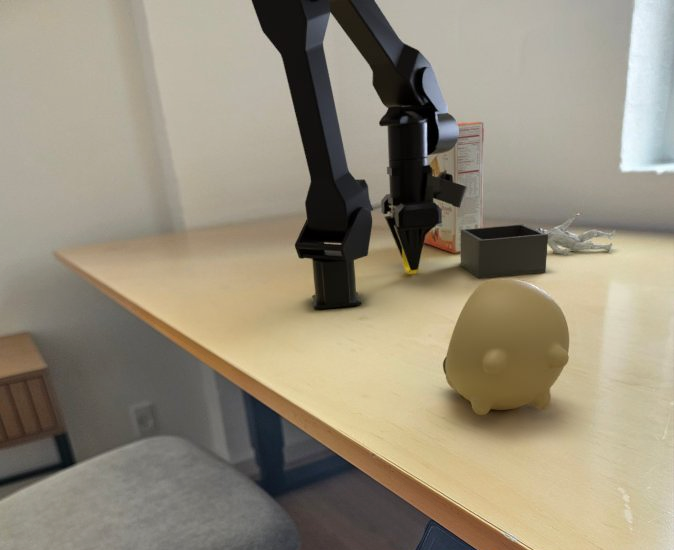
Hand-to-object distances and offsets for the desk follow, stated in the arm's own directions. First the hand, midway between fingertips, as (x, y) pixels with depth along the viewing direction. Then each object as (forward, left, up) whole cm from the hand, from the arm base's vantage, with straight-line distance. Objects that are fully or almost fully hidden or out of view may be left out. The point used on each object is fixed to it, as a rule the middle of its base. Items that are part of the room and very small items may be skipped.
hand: (410, 265), depth 104 cm
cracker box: (+20, -11, -2) cm, 23 cm away
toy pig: (-54, +2, -2) cm, 54 cm away
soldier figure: (+6, -29, -2) cm, 30 cm away
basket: (-2, -14, -1) cm, 14 cm away
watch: (0, 0, -1) cm, 1 cm away
